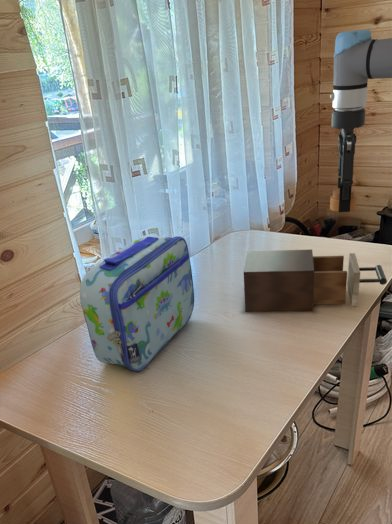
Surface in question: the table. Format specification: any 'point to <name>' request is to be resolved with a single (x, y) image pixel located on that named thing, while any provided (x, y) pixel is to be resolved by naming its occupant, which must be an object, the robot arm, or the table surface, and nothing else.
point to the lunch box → (138, 300)
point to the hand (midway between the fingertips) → (343, 207)
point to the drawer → (340, 279)
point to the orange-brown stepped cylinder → (335, 200)
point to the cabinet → (279, 281)
